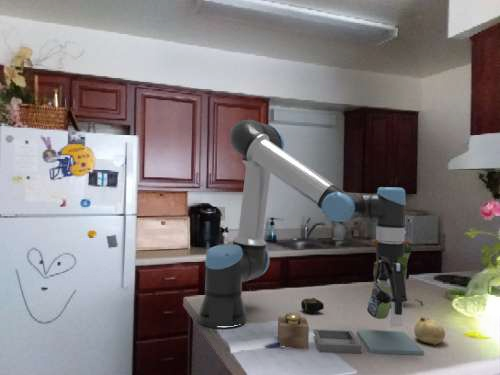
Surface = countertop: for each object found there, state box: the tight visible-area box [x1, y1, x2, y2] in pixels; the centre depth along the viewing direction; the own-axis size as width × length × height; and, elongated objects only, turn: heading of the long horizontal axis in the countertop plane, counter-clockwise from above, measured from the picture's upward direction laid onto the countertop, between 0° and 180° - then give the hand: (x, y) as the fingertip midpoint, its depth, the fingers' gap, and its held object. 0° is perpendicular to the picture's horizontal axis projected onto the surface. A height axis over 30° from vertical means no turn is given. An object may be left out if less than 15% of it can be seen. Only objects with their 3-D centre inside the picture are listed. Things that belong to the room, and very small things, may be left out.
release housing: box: [277, 315, 310, 349], centre depth 108 cm, size 8×8×6 cm
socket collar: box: [312, 329, 362, 354], centre depth 107 cm, size 11×11×2 cm
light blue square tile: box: [356, 329, 425, 356], centre depth 109 cm, size 14×14×1 cm
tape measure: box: [300, 297, 325, 313], centre depth 135 cm, size 7×7×4 cm
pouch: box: [372, 238, 412, 305], centre depth 148 cm, size 11×12×25 cm
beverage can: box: [366, 279, 393, 320], centre depth 115 cm, size 6×7×12 cm
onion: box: [413, 316, 446, 346], centre depth 111 cm, size 8×8×7 cm
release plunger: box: [284, 312, 302, 324], centre depth 108 cm, size 4×4×7 cm
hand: (388, 317), depth 109 cm, fingers open, 13 cm apart
